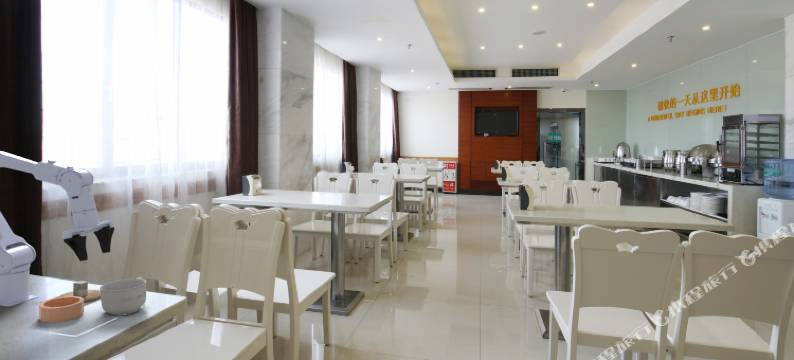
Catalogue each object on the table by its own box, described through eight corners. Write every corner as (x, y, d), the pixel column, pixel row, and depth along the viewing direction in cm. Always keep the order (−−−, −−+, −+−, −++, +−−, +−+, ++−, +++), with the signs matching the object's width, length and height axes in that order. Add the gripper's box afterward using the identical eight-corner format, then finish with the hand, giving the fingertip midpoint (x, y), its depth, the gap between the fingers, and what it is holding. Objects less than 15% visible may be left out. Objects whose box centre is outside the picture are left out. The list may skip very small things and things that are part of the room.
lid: (46, 301, 119) (46, 285, 118) (81, 289, 130) (81, 275, 129) (79, 306, 117) (79, 290, 117) (112, 293, 128) (112, 279, 127)
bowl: (30, 321, 107) (30, 305, 106) (63, 308, 115) (63, 294, 115) (60, 325, 105) (60, 309, 105) (91, 312, 114) (91, 298, 114)
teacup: (123, 321, 110) (124, 291, 109) (89, 316, 112) (89, 286, 111) (163, 303, 123) (163, 277, 123) (131, 299, 125) (132, 273, 125)
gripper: (72, 214, 112) (84, 262, 113) (116, 204, 126) (127, 247, 128) (51, 217, 114) (63, 265, 115) (97, 207, 128) (107, 250, 129)
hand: (95, 256), depth 121 cm, fingers open, 7 cm apart
